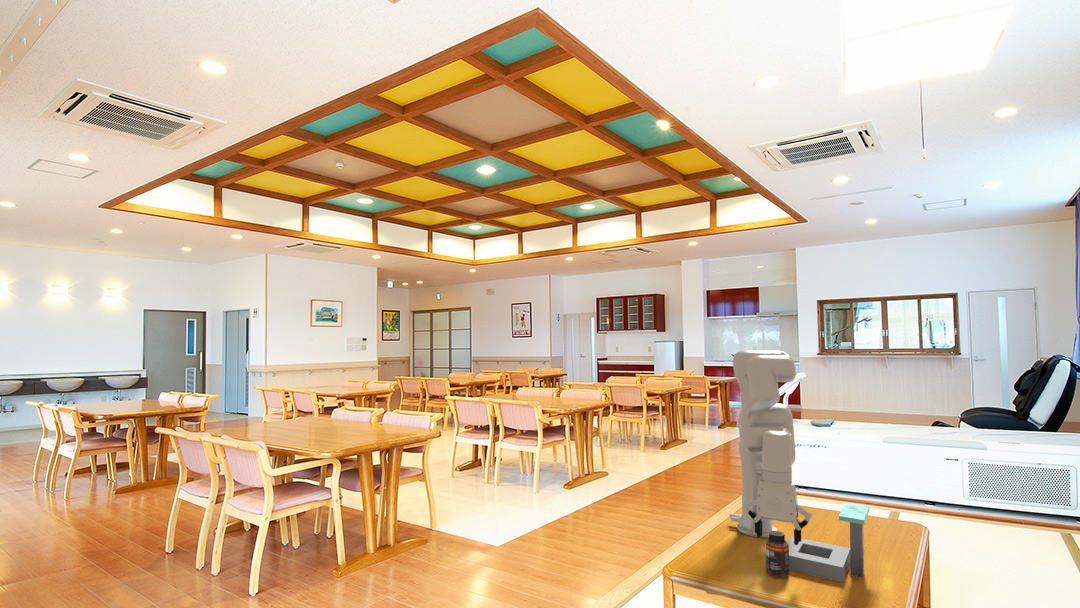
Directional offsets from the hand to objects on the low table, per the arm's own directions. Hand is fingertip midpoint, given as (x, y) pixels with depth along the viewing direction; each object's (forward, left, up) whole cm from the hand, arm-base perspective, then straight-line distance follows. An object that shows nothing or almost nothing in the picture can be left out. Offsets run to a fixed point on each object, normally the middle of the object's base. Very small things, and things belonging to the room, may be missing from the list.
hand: (777, 539), depth 157 cm
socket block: (+7, +14, -10) cm, 18 cm away
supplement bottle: (0, +1, -10) cm, 10 cm away
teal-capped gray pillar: (+18, +14, -10) cm, 24 cm away
